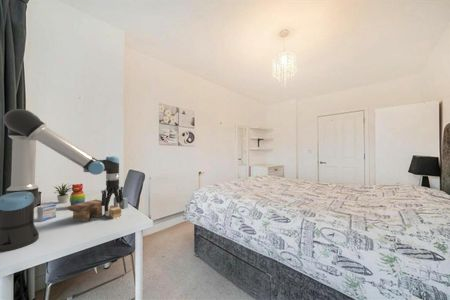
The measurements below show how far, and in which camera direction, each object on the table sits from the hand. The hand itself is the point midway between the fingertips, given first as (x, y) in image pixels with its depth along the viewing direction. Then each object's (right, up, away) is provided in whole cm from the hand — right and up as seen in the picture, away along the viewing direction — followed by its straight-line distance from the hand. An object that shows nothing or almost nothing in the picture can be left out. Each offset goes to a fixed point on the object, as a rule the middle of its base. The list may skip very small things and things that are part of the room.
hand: (112, 213), depth 125 cm
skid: (0, -2, 0) cm, 2 cm away
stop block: (-5, -1, +19) cm, 20 cm away
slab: (-15, +5, -2) cm, 16 cm away
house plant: (-59, -1, +29) cm, 66 cm away
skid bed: (-15, -1, -2) cm, 15 cm away
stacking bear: (-38, -1, +18) cm, 42 cm away
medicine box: (-39, -2, -6) cm, 39 cm away
